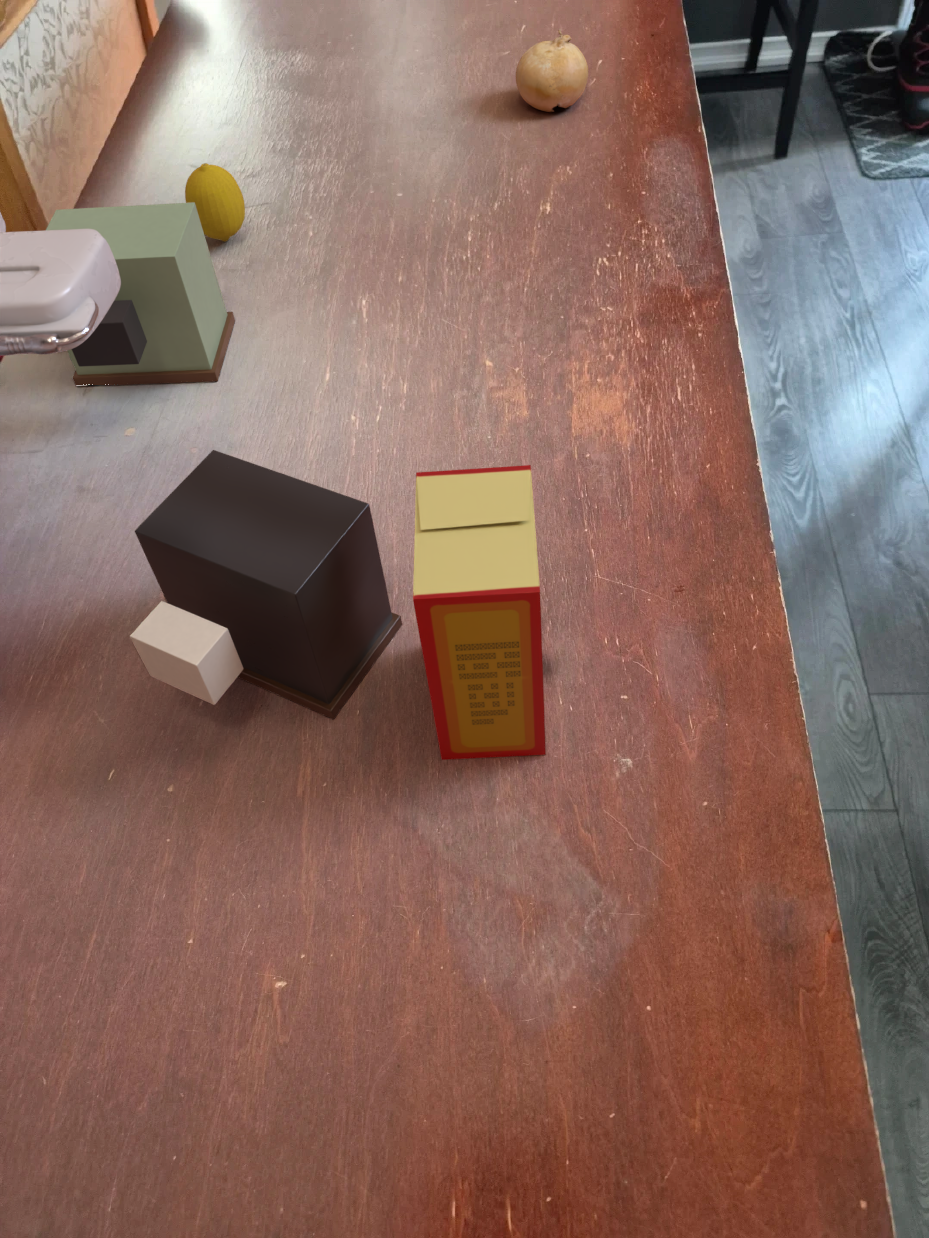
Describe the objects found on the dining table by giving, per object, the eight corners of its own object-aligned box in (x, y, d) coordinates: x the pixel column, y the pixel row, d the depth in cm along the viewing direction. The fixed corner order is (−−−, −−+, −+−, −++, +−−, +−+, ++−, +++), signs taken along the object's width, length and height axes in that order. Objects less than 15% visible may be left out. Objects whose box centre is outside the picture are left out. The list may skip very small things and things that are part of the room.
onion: (577, 123, 117) (577, 55, 111) (508, 117, 119) (504, 51, 113) (594, 89, 121) (595, 23, 116) (527, 84, 123) (525, 19, 118)
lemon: (189, 254, 106) (166, 178, 100) (210, 224, 109) (189, 148, 103) (241, 258, 105) (220, 181, 99) (260, 227, 108) (242, 151, 102)
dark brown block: (139, 364, 85) (122, 322, 82) (78, 367, 86) (60, 325, 83) (147, 341, 87) (132, 299, 84) (88, 344, 88) (70, 302, 85)
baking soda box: (545, 754, 67) (539, 587, 54) (441, 759, 67) (412, 594, 55) (537, 635, 73) (530, 460, 60) (441, 640, 73) (415, 467, 61)
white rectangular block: (214, 705, 64) (196, 665, 60) (149, 676, 65) (128, 635, 62) (244, 669, 65) (227, 628, 62) (180, 641, 67) (161, 600, 64)
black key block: (333, 720, 69) (297, 601, 60) (180, 652, 74) (124, 533, 65) (402, 624, 74) (378, 501, 65) (254, 566, 79) (212, 443, 69)
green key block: (217, 381, 93) (178, 259, 84) (75, 387, 94) (21, 266, 85) (235, 320, 98) (200, 199, 89) (101, 326, 100) (52, 207, 90)
